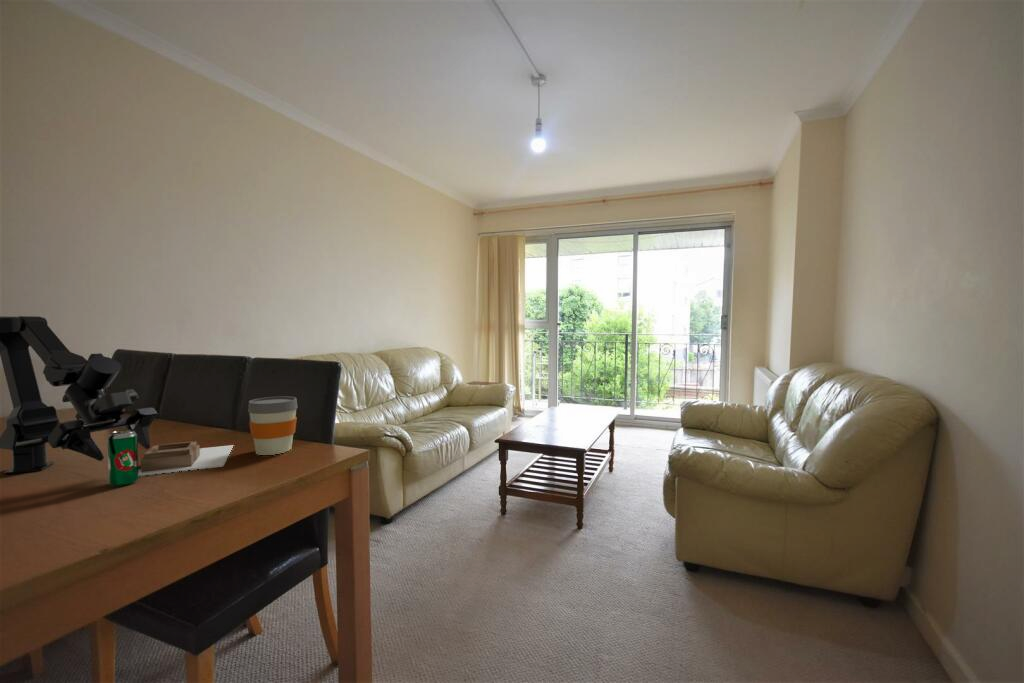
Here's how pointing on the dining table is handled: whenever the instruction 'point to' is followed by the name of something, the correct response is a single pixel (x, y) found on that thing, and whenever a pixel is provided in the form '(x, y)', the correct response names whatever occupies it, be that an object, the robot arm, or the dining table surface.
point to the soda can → (122, 458)
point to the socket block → (170, 456)
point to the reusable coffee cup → (272, 424)
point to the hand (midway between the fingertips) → (126, 453)
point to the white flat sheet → (200, 460)
